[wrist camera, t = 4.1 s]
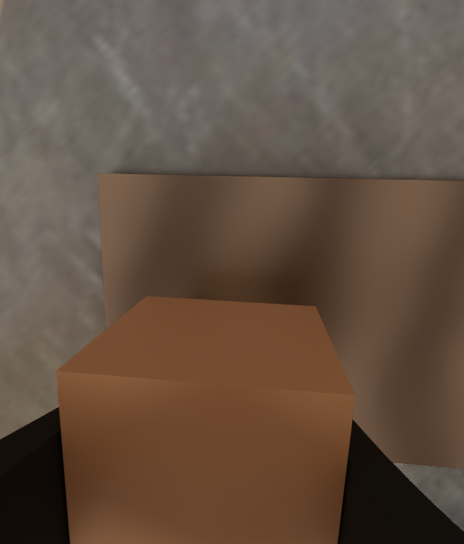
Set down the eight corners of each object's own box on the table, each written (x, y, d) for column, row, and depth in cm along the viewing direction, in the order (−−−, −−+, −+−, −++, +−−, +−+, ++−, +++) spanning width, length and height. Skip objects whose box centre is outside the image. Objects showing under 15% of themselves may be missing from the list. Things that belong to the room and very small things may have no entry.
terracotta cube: (315, 306, 11) (355, 395, 6) (302, 456, 12) (326, 632, 7) (146, 296, 11) (56, 371, 6) (149, 441, 12) (74, 597, 8)
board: (533, 184, 16) (560, 182, 15) (480, 450, 19) (498, 471, 17) (111, 175, 18) (97, 173, 16) (122, 420, 21) (111, 437, 19)
